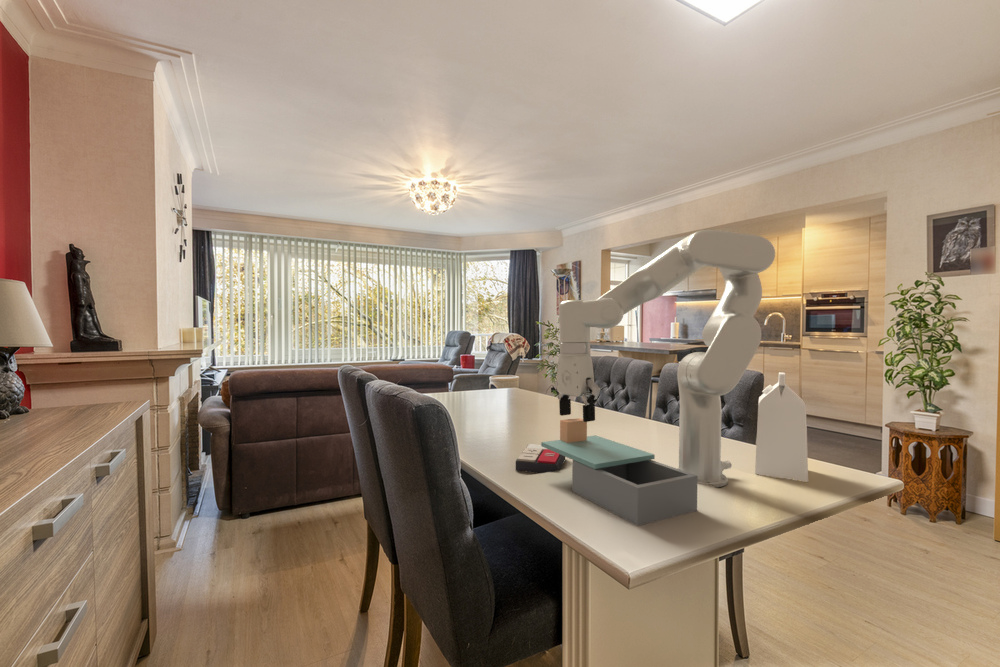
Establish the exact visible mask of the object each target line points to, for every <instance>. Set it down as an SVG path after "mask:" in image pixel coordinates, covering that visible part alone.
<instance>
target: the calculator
mask: <svg viewBox="0 0 1000 667" xmlns="http://www.w3.org/2000/svg"><path fill="white" fill-rule="evenodd" d="M564 460H566V457H565V456H563V455H561V454H558V453H556V452H554V451H551V450H549V449H547V448H544V447H542V446H541V444H536V443H535V444H534V443H529V444H527V446H526V447H525V448H524V450H523V451H522V452H521V453H520V455H518V457H517V458H516V460H515V472H522V471H527V472H526V473H532V472H537V473H536V474H544V473H552V472H557V471H560V470H561V467H562V465H563V464H564V463H565V461H564ZM563 462H564V463H563Z"/></svg>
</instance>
